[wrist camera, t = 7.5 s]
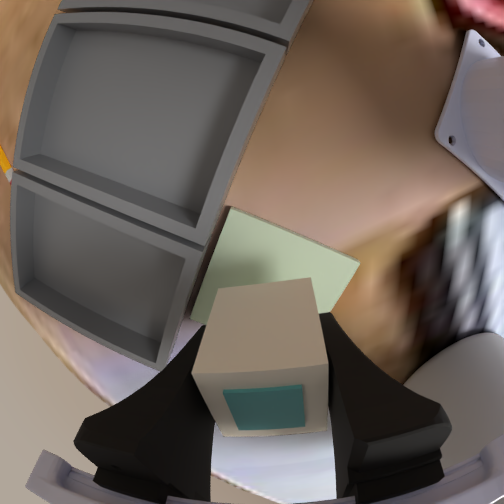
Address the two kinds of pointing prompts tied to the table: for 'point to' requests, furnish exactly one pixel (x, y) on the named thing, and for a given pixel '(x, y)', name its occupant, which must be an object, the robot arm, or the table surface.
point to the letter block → (264, 361)
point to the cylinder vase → (466, 393)
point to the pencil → (6, 165)
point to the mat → (271, 262)
